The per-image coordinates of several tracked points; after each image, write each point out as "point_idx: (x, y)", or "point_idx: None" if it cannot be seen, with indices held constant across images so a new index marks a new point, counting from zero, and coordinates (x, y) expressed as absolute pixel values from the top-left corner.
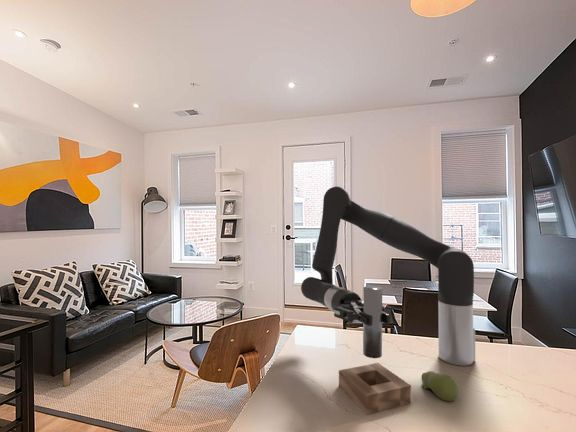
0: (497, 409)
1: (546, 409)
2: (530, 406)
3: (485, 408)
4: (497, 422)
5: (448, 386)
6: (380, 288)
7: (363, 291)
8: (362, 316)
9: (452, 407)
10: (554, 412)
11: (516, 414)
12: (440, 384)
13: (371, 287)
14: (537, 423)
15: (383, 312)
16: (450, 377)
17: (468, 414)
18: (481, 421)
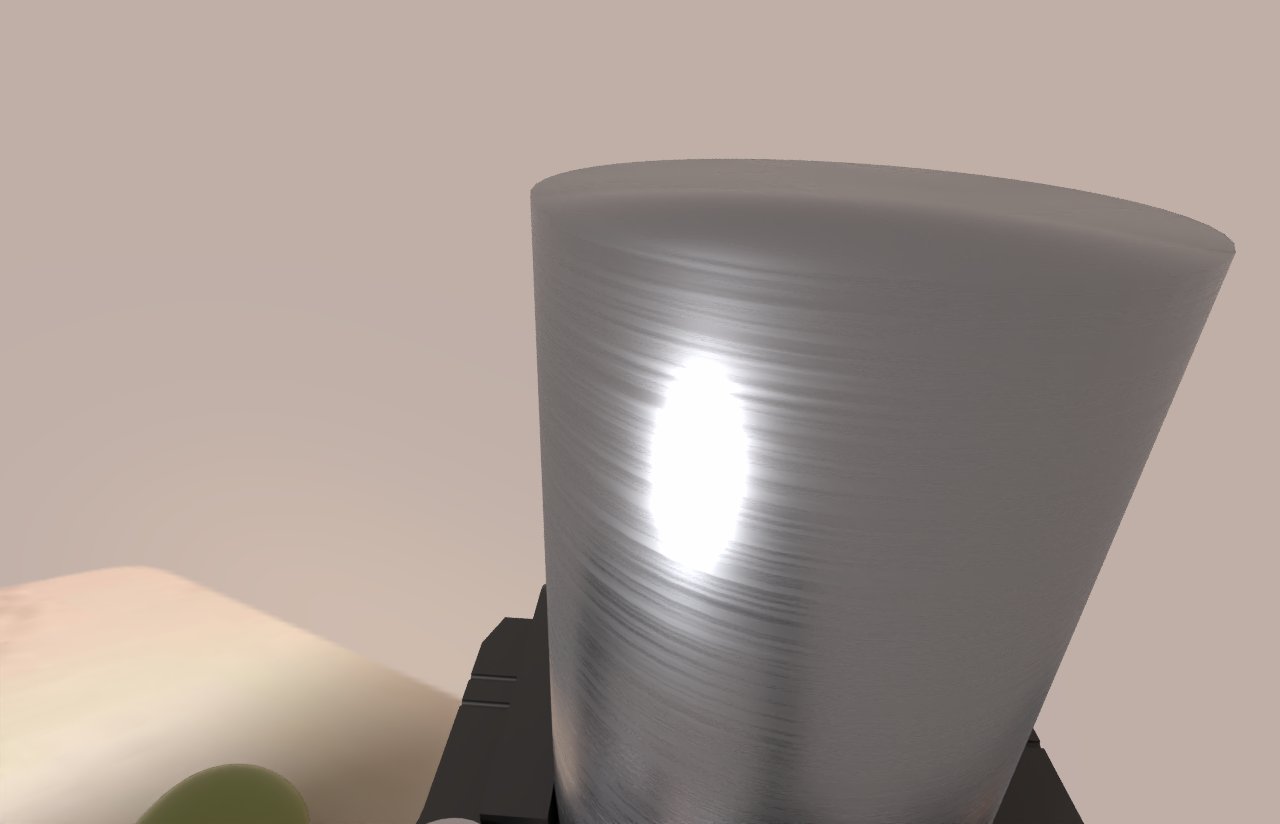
0: (172, 709)
1: (25, 630)
2: (32, 664)
3: (202, 736)
4: (302, 662)
5: (277, 776)
6: (627, 173)
7: (1170, 394)
8: (1027, 747)
9: (322, 813)
10: (38, 611)
11: (166, 659)
12: (285, 817)
13: (849, 211)
14: (193, 606)
15: (540, 676)
16: (180, 792)
17: (330, 741)
18: (346, 690)
